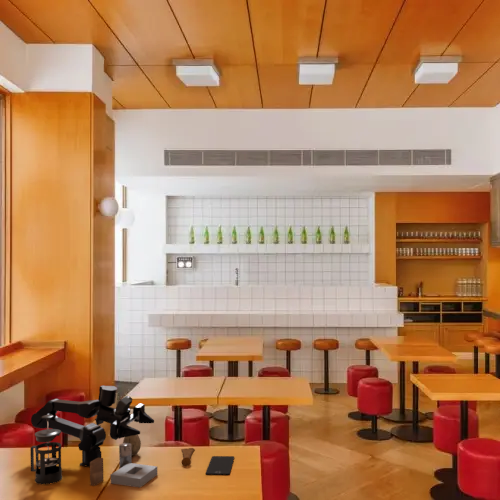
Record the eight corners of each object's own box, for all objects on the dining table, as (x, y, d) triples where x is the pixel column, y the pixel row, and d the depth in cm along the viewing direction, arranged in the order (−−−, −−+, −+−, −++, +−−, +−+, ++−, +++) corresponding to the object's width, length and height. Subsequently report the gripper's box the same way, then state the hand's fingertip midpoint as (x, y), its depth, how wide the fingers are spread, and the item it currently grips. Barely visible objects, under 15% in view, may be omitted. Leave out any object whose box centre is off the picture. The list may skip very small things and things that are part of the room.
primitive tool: (181, 450, 238) (181, 441, 238) (194, 449, 239) (194, 441, 239) (181, 467, 219) (181, 458, 219) (195, 467, 220) (195, 457, 220)
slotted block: (110, 483, 204) (110, 474, 204) (129, 470, 216) (128, 462, 216) (140, 487, 200) (140, 478, 200) (157, 474, 212) (157, 466, 212)
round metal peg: (117, 467, 220) (116, 446, 220) (123, 463, 224) (123, 442, 224) (127, 468, 218) (127, 447, 218) (133, 464, 222) (133, 443, 222)
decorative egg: (144, 454, 233) (144, 429, 233) (130, 459, 228) (130, 434, 228) (133, 450, 238) (132, 426, 238) (119, 455, 232) (118, 430, 232)
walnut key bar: (90, 485, 203) (89, 462, 203) (98, 479, 208) (98, 457, 208) (95, 485, 203) (94, 462, 203) (103, 480, 207) (103, 457, 207)
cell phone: (205, 475, 211) (205, 473, 211) (212, 458, 229) (212, 455, 229) (229, 476, 210) (229, 473, 210) (234, 458, 228) (234, 456, 228)
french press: (68, 474, 213) (67, 412, 213) (56, 485, 204) (55, 419, 204) (38, 473, 214) (37, 411, 214) (25, 484, 205) (24, 419, 205)
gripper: (97, 406, 210) (133, 418, 204) (127, 386, 227) (161, 397, 221) (96, 434, 212) (132, 446, 206) (126, 412, 229) (160, 423, 223)
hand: (147, 427), depth 214 cm, fingers open, 9 cm apart
